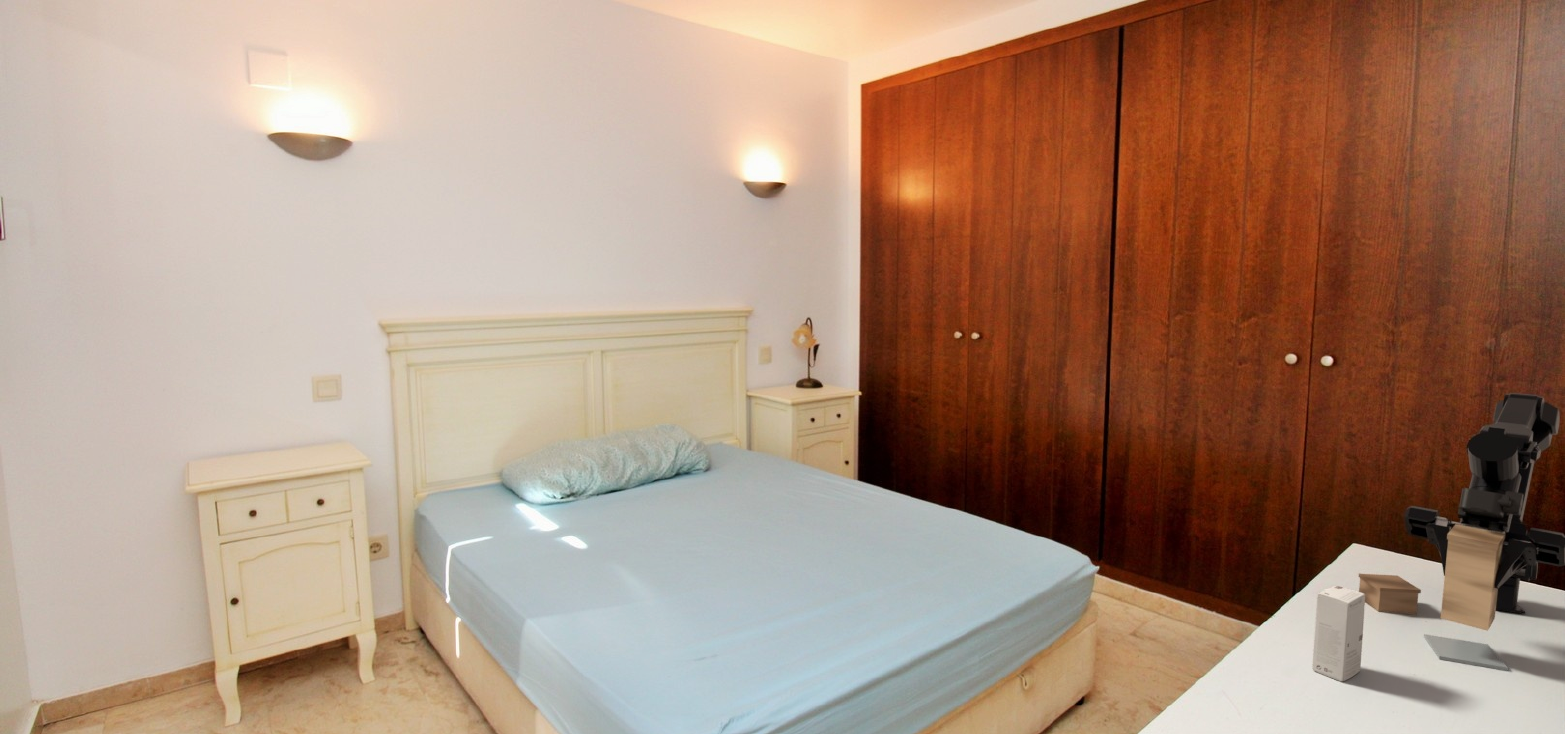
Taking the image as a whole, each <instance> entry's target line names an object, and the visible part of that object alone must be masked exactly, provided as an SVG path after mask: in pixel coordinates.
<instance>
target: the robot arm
mask: <svg viewBox="0 0 1565 734" xmlns="http://www.w3.org/2000/svg"><path fill="white" fill-rule="evenodd" d="M1492 419H1493V420H1492V421H1493V423H1492V424H1487V425H1486V424H1485V425H1483V426H1482V427H1481V429H1480V430H1479V431H1478V434H1473V435H1472V437H1471V438H1470V439H1469V440H1468V442H1467V444H1466V453H1467V455H1468V463H1469V470H1470V473H1471V474H1472V475H1471V479H1470V483H1469V487H1468V488H1466V487H1462V489H1461V495H1460V499H1459V501H1460V502H1459V505H1458V512H1457V518H1458V519H1459V520H1460V521H1459V522H1457V521H1452V520H1451V519H1449V518H1447V517H1442V516H1440V512H1439V510H1438V509H1432V508H1427V507H1421V506H1416V505H1410V506H1409V507H1408V508H1406V509H1405V512H1404V514H1403V515H1404V516H1403V521H1404V524H1405V531H1406V534H1408V535H1409V536H1410V537H1415V538H1418V539H1419V538H1421V539H1423V540H1427V541H1428V543H1429V544H1431V545H1432V546H1436V548H1437V550H1438V553H1439V555H1440V560H1441V566H1442V572H1443V577H1445V568H1446V558H1447V548H1448V539H1447V534H1448V533H1449V532H1450V530H1451V529H1452V528H1453V527H1454V526H1455V524H1457V525H1462V526H1467V527H1473V528H1478V529H1483V530H1488V531H1494V532H1499V533H1504V534H1505V539H1504V541H1503V547H1502V556H1501V565H1500V567H1499V570H1498V572H1497V574H1496V578H1495V583H1494V588H1497V589H1498V593H1497V602H1496V611H1503V612H1510V613H1517V614H1526V610H1525V609H1524V608H1523V607H1522V606H1521V605H1520V604H1519V603H1518V599H1519V598H1518V597H1519V589H1520V582H1521V580H1524V581H1527V582H1530V580H1531V581H1532V580H1535V581H1536V580H1537V576H1538V568H1539V566H1538V565H1539V564H1545V565H1550V566H1554V567H1565V534H1564V533H1563V532H1559V531H1558V532H1557V531H1553V530H1548V529H1541V528H1536V527H1531V528H1530V529H1529V531H1528V528H1527V527H1526V524H1524V523H1523V518H1524V515H1525V509H1526V504H1527V499H1528V495H1529V491H1530V485H1531V480H1532V474H1533V471H1534V465H1535V462H1537V460H1538V459H1540V458H1541V453H1542V452H1543V451H1545V450H1546V449H1548V448H1549V447H1550V446H1551V444H1552V443H1551V442H1552V438H1553V435H1555V436H1556V435H1558V433H1559V429H1560V419H1561V418H1560V409H1559V408H1558V407H1556V406H1554V405H1552V404H1551V403H1548V402H1546V401H1545V398H1544V396H1540V395H1538V394H1528V393H1527V394H1526V393H1516V392H1510V393H1505V394H1504V398H1503V399H1502V400H1500V401H1498V402H1496V404H1495V409H1494V415H1493V418H1492ZM1538 563H1539V564H1538Z"/></svg>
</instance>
